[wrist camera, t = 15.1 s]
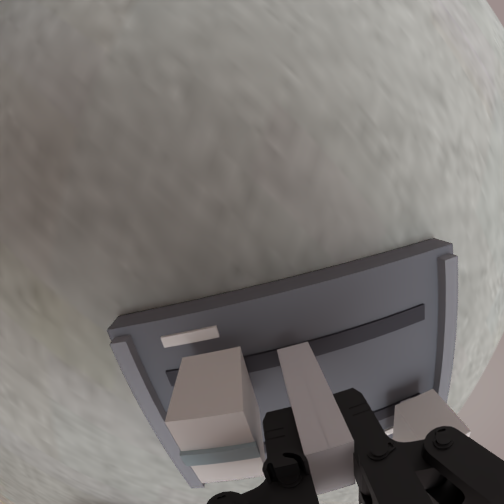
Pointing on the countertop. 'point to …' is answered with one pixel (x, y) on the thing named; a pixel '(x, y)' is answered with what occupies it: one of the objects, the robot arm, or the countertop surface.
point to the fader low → (423, 417)
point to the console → (308, 335)
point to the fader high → (217, 417)
